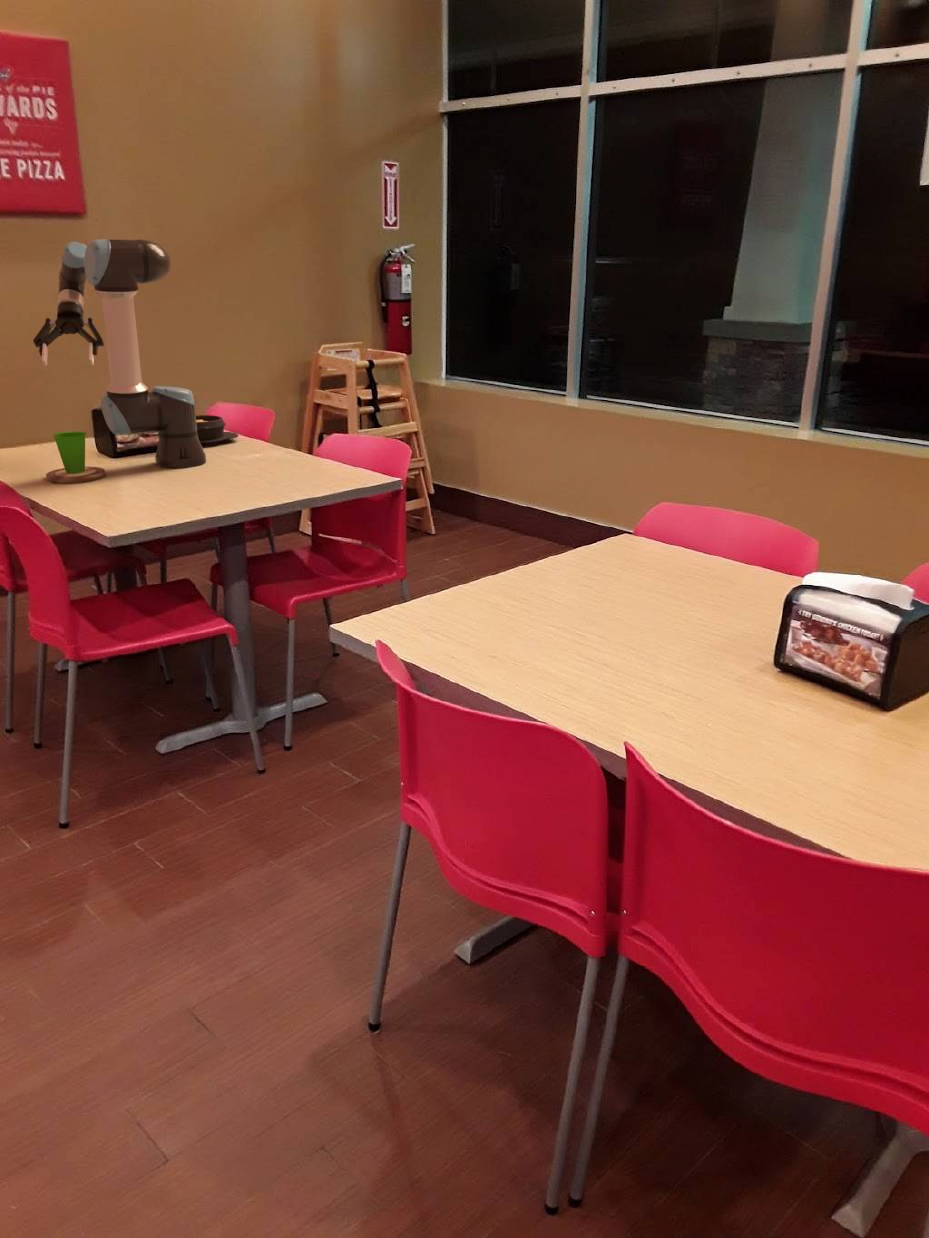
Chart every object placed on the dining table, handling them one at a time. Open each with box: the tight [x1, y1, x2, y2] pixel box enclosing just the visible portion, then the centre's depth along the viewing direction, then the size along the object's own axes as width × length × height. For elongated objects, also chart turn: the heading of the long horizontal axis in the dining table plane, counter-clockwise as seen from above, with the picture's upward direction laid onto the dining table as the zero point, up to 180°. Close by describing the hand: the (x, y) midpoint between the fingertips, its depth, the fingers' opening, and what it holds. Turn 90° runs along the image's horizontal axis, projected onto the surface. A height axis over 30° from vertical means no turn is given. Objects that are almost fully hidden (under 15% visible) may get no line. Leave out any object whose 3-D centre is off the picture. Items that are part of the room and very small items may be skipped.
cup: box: [52, 430, 87, 474], centre depth 272 cm, size 9×9×11 cm
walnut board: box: [45, 465, 106, 485], centre depth 274 cm, size 16×16×2 cm
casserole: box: [196, 414, 239, 447], centre depth 321 cm, size 25×19×8 cm
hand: (67, 363), depth 287 cm, fingers open, 13 cm apart
